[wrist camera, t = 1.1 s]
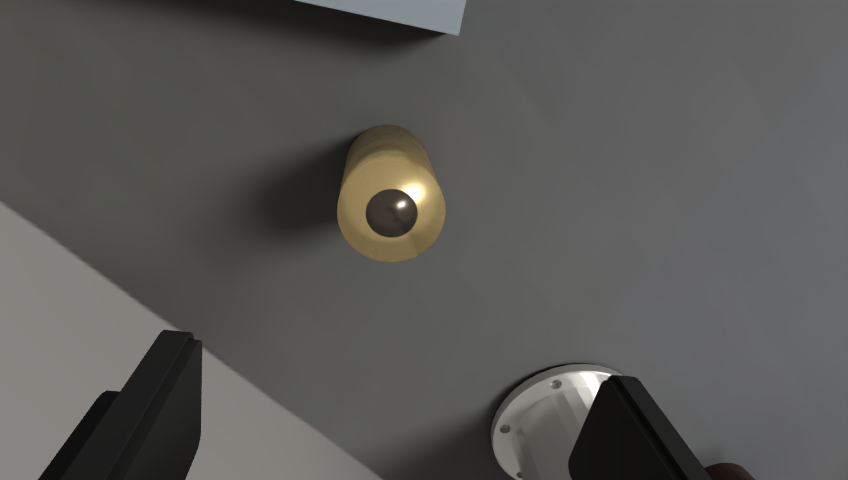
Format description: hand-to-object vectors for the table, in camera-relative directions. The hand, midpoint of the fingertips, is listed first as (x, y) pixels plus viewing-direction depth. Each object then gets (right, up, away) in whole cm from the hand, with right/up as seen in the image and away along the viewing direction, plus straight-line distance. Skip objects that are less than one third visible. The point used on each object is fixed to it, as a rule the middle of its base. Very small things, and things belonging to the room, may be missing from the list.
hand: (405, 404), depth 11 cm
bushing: (-2, +8, +18) cm, 20 cm away
